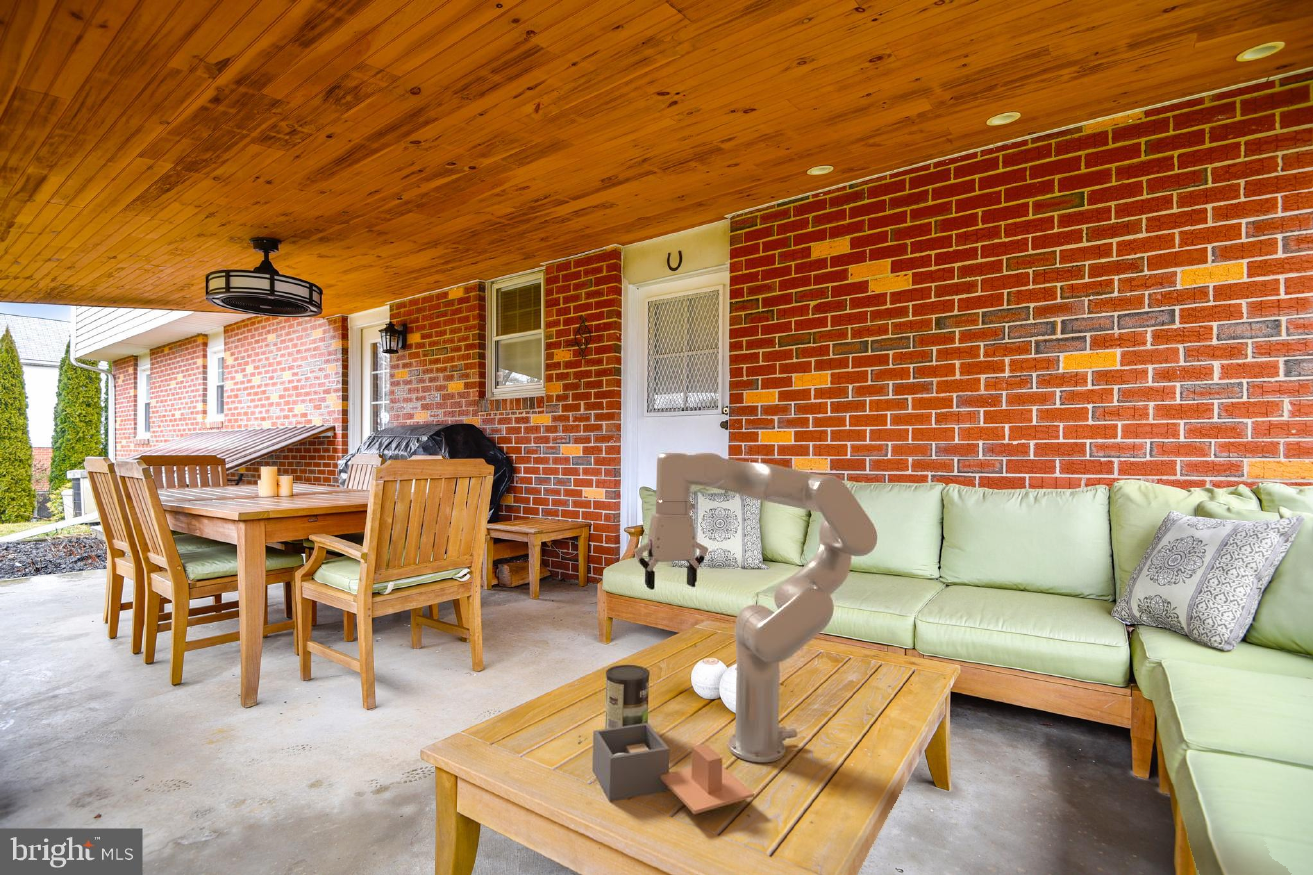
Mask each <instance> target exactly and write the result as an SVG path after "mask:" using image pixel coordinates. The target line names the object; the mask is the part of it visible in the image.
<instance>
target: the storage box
mask: <svg viewBox="0 0 1313 875" xmlns="http://www.w3.org/2000/svg"><path fill="white" fill-rule="evenodd" d="M592 737H593V738H592V740H593V741H592V768H591V769H592V773H593V774H594V776H595V778H596V780H597V782H598V783H599V785H600V787H601V788H602V790H603V792H604V794H605V797H606V798H607V800H608V802H609V801H611V802H615V801H614V800H616V801H621V800H626V799H630V798H631V799H632V798H636V797H641V796H647V795H652V794H656V793H662V792H667V791H668V792H669V789H670V788H669V787H668V786H667V785H666V784H665V783H664V782H663V781H662V780H661V775H664V774H668V773H670V748H669V746H668V745H667V744H666V743H665V742H664V740H663V739H662V738H661V736H660V735H659V734H658V733H657V732H656V730H655V729H654V728H653V727H652V726H651V725H650V724H649V722H648V723H643V724H636V725H630V726H623V727H616V728H609V729H605V728H603V729H597V730H593V734H592Z"/></svg>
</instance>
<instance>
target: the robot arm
mask: <svg viewBox="0 0 1313 875" xmlns="http://www.w3.org/2000/svg"><path fill="white" fill-rule="evenodd" d="M655 482H656V483H655V484H656V486H655V488H656V489H655V492H656V493H655V496H656V497H655V514H652V515H651V516H650V517H651V518H650V522H649V527H648V533H647V534H648V535H647V542H645V543H644V544H642V545H640V546H638V547H636V548H635V549H634V550H633V554H634V555H635V557H636V559H637V562H638V563H639V564H640V566H641V567H643V569H644V584H645V585H646V588H647V589H649V590H651V591H652V590H653V591H654V590H655V589H656V588H655V585H656V582H655V579H656V578H655V577H656V575H655V574H656V571H655V570H654V568H655V567H656V565H657V564H658V563H659V562H661V563H663V562H665V563H667V562H668V563H669V562H686V563H687V564H688V566H687V568H686V585H688V586H689V587H690V588H695V587H696V583H697V582H698V569H699V568H700V565H701V564H702V563H703V562H704V561H705V557H706V556H707V554H708V552H709V548H708V547H707V546H706V545H704V544H701V543H700V542H698V541H696V533H695V532H696V531H695V522H694V519H693V515H691V512H692V510H695V509H696V504H695V503H692V502H691V485H692V486H693V485H694V486H700V487H705V488H710V489H717V490H722V491H725V492H730V493H734V494H739V495H742V496H745V497H748V498H750V499H754V500H759V501H763V502H766V503H773V504H777V505H783V506H787V507H792V508H798V509H802V510H806V511H812V512H817V513H820V514H821V516H823V518H824V519H823V520H822V522H821V524H820V526H819V532H818V533H819V543H818V548H817V552H816V554H815V555H814V556H813V558H812V559H811V560H809V561H808V562H807V563H806V564H805V565H803V567H801V568H800V569H799V570H798V571H796V572H795V573H793V574H792V575H791V576H790V577H788V578H787V579H786V580H785V581H783V582H782V583H781V584H780V585H778V587H777V588H776V591H775V592H774V596H773V597H774V604H775V606H776V608H777V610H776V611H775V612H774V611H773V610H771V609H770V608H768V607H766V606H765V605H761V604H750V605H747V606H746V607H744V608H743V609H741V611H740V612H739V613H738V614H737V615H736V616H737V617H736V619H735V624H734V640H735V650H736V651H735V652H736V677H735V678H736V681H735V682H736V685H735V686H736V688H735V731H734V732H735V733H734V734H733V735H731V736H730V737H729V738H728V740H727V742H728V744H727V746H728V749H729V751H730V752H731V754H732V755H734V756H735V757H737V758H739V759H742V760H745V761H749V762H753V763H763V764H764V763H770V762H771V763H772V762H777V761H778V760H780V759H782V758H783V757H784V756H785V754H786V746H785V744H784V741H786V740H787V739H794V738H797V737H798V731H797V729H796V727H795V728H786V726H785V725H779V722H780V720H779V714H780V678H781V675H780V673H781V672H780V663H782V662H784V661H786V660H788V659H790V658H792V656H795V654H796V653H797V652H799V651H800V650H801V649H803V647H804V646H806V645H808V643H810V642H811V641H812V640H813V639H814V638H815V637H817V636H818V635H820V633H821V632H822V631H824V630H825V629H826V628H827V626H828V625H829V624H830V622H831V620H832V618H833V615H834V609H835V608H834V602H833V599H832V595H833V594H834V592H836V591H837V590H838V589H839V588H840V587H841V586H842V585H843V584H844V582H845V581H846V580H847V578H848V577H849V573H850V571H851V570H850V569H851V566H852V564H851V563H852V556H853V557H864V556H867V555H869V554H870V553H872V552H873V551H874V549H875V548H876V546H877V544H878V543H877V542H878V532H877V529H876V527H875V525H874V523H873V521H872V520H871V518H870V516H869V515H868V513H866V511H865V509H864V508H863V507H862V505H861V503H860V502H859V501H858V500H857V498H856V497H855V496H854V494H853V492H852V491H851V490H850V488H849V487H848V486H847V484H846V483H845V482H844V481H842V480H841V479H840V478H839V477H838V476H834V475H827V474H819V473H813V472H807V471H802V470H798V469H794V468H789V467H785V466H780V465H777V464H774V463H773V464H771V463H767V462H766V463H765V462H747V461H743V460H736V459H735V460H734V459H730V458H729V459H728V458H725V457H722V456H721V455H719V454H717V453H714V452H713V453H712V452H698V453H697V452H696V453H694V454H687V453H683V452H663V453H659V454H658V457H657V460H656V481H655ZM696 549H697V550H698V551H699V553H698V554H697V555H696ZM644 553H646V556H647V557H648V558H647V560H646V559H645V557H644ZM695 556H696V557H695Z"/></svg>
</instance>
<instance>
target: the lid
mask: <svg viewBox="0 0 1313 875" xmlns="http://www.w3.org/2000/svg"><path fill="white" fill-rule="evenodd" d="M661 780H662V781H663V782H664V783H665V784H666V785H667V786H668V787H669V789H670V790H671V792H673V793H674V795H675V796H676V797H677V798H678V799H679V800H680V801H681V802H682V803H683V804H684V805H685V806H686V807H687V808H688V810H690V812H692V814H694V815H697V814H699V813H703V812H707V811H710V810H715V809H714V808H717V807H721V806H724V805H728V804H731V803H734V802H736V803H737V802H741V801H744V800H747V799H752V798H754V797H755V792H753V791H752V790H751V789H749V787H747V786H746V785H745V784H744V783H743V782H742V781H740V780H739V779H738V778H737V777H736V776H734V775H733V774H732V773H731V772H730V771H729V770H727V769H726V768H725V767H724V766H723V757H722V756H721V755H720V754H719V753H717V752H716V751H715V749H713V748H712V747H710V746H709V745H708V744H707V743H702V744H697V745H693V746H691V767H689V768H685V769H681V770H677V771H673V772H672V771H671V772H669V773H668V774H664V775H661Z"/></svg>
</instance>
